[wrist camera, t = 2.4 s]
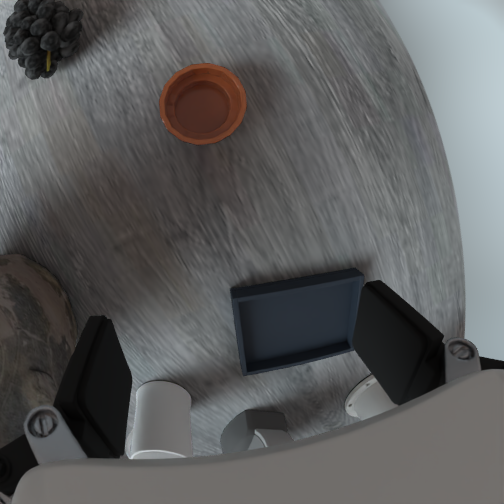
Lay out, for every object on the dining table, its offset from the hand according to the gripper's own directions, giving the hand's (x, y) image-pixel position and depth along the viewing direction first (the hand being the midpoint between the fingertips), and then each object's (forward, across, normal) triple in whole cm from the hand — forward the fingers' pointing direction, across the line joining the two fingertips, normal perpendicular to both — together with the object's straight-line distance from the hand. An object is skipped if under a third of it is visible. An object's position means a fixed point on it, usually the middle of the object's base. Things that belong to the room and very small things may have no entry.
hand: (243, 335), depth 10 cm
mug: (+21, +12, +29) cm, 37 cm away
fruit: (+22, +18, -23) cm, 37 cm away
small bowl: (+22, 0, -10) cm, 24 cm away
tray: (+21, -10, +16) cm, 28 cm away
